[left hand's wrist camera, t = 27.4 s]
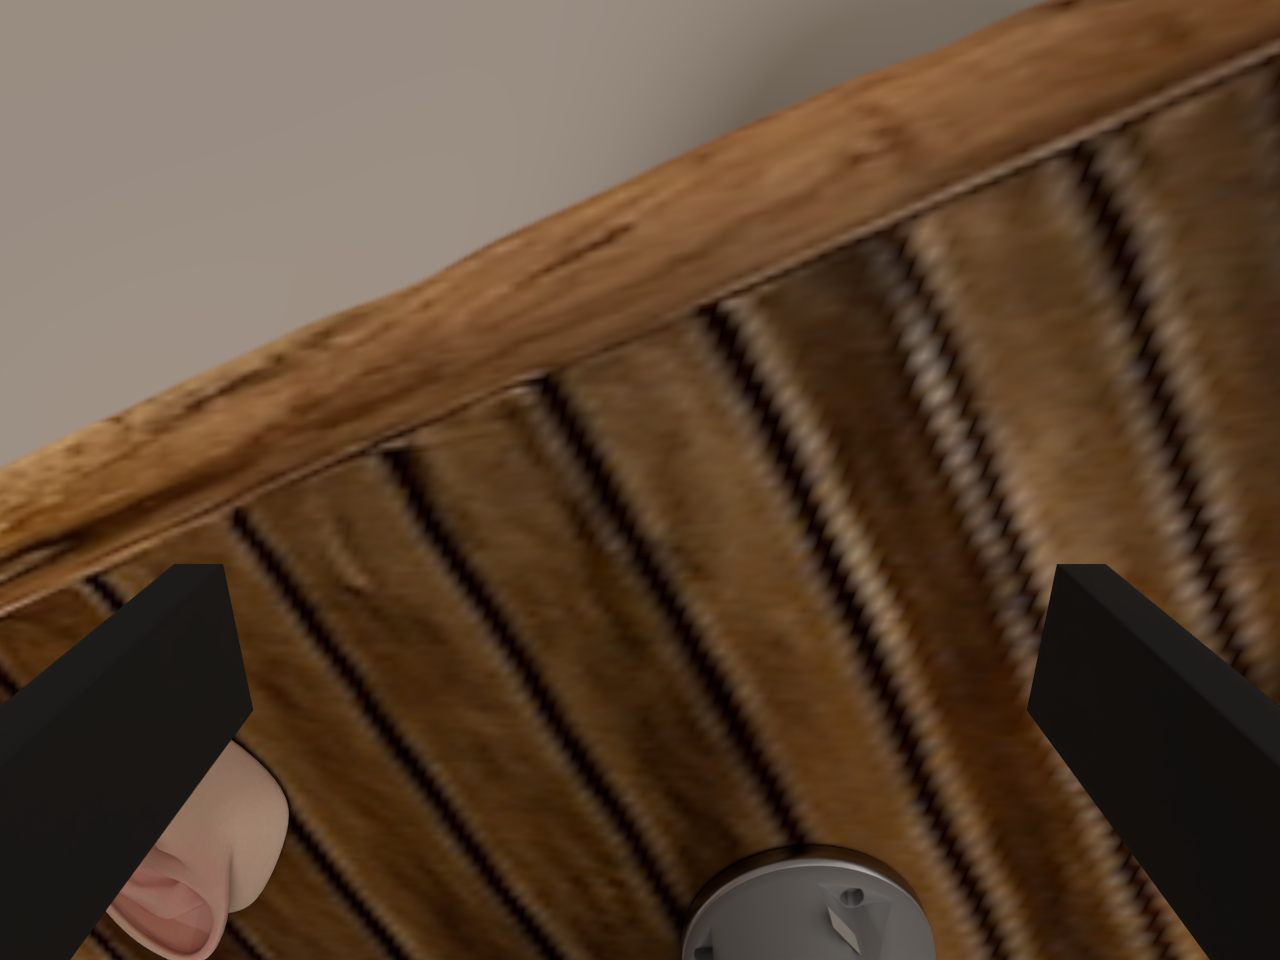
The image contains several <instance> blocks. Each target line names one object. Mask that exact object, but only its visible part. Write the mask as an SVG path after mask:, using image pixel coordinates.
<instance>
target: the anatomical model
mask: <svg viewBox="0 0 1280 960" xmlns="http://www.w3.org/2000/svg"><path fill="white" fill-rule="evenodd" d="M288 819H289V810H288V804H287V801H286V797H285V795H284V793H283V791H282V789H281V788H280V786H279V785H278V783H277V782H276V780H275V779H274V778H273V777H272V776H271V774H270V773H269V772H268V771H267V770H266V769H265V768H264V767H263V766H262V765H261V764H260V763H259V762H258V761H257V760H256V759H255V758H254V757H252V756H251V755H250V754H249V753H248V752H246V751H245V750H244V749H243V748H242V747H240V746H239V745H238V744H236V743H235V742H234V741H232V740H231V741H230V742H229V744H228V745H227V746H226V748H225V749H224V751H223V752H222V753H221V755H220V756H219V757H218V759H217V760H216V761H215V763H214V764H213V766H212V767H211V768H210V770H209V771H208V772H207V774H206V775H205V776H204V778H203V779H202V781H201V782H200V783H199V785H198V786H197V787H196V789H195V790H194V791H193V793H192V794H191V796H190V797H189V798H188V800H187V801H186V802H185V804H184V805H183V806H182V808H181V809H180V811H179V812H178V813H177V815H176V816H175V817H174V819H173V820H172V821H171V823H170V824H169V826H168V827H167V828H166V830H165V831H164V832H163V834H162V835H161V836H160V838H159V839H158V841H157V842H156V843H155V845H154V846H153V847H152V849H151V850H150V851H149V853H148V854H147V856H146V857H145V858H144V860H143V861H142V862H141V864H140V865H139V866H138V868H137V869H136V871H135V872H134V873H133V875H132V876H131V877H130V879H129V880H128V881H127V883H126V884H125V886H124V887H123V888H122V890H121V891H120V892H119V894H118V895H117V896H116V898H115V899H114V901H113V902H112V903H111V905H110V906H109V907H108V909H107V910H106V912H107V913H108V914H109V915H110V916H111V917H112V919H113V920H114V921H115V922H116V923H117V924H118V925H119V926H120V927H121V928H122V929H123V930H124V931H125V932H127V933H128V934H129V935H130V936H131V937H132V938H134V939H135V940H136V941H138V942H139V943H140V944H142V945H143V946H145V947H146V948H148V949H150V950H151V951H153V952H155V953H157V954H159V955H161V956H163V957H165V958H167V959H170V960H205V959H206V958H208V957H209V956H210V955H211V953H212V952H213V951H214V950H215V948H216V947H217V945H218V943H219V941H220V939H221V937H222V934H223V932H224V929H225V925H226V922H227V917H228V913H231V912H235V911H239V910H242V909H244V908H246V907H247V906H249V905H250V904H251V903H253V902H254V901H255V900H256V899H257V897H258V896H259V895H260V893H261V892H262V891H263V889H264V887H265V886H266V884H267V882H268V880H269V878H270V876H271V874H272V872H273V870H274V867H275V865H276V863H277V860H278V858H279V855H280V852H281V849H282V847H283V843H284V840H285V837H286V832H287V827H288Z"/></svg>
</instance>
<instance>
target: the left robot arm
mask: <svg viewBox="0 0 1280 960" xmlns="http://www.w3.org/2000/svg"><path fill="white" fill-rule="evenodd" d="M252 711H253V707H252V702H251V698H250V693H249V688H248V683H247V678H246V673H245V669H244V664H243V659H242V654H241V649H240V644H239V639H238V635H237V630H236V625H235V620H234V615H233V610H232V606H231V601H230V596H229V591H228V586H227V581H226V576H225V572H224V567H223V564H174V565H173V566H171V567H170V568H169V569H168V570H167V571H165V572H164V573H163V574H162V575H160V576H159V577H158V578H157V579H156V580H154V581H153V582H152V583H151V584H149V585H148V586H147V587H146V588H145V589H143V590H142V591H141V592H140V593H138V594H137V595H136V596H135V597H134V598H132V599H131V600H130V601H129V602H127V603H126V604H125V605H124V606H123V607H121V608H120V609H119V610H118V611H116V612H115V613H114V614H113V615H112V616H110V617H109V618H108V619H107V620H105V621H104V622H103V623H102V624H101V625H99V626H98V627H97V628H96V629H94V630H93V631H92V632H91V633H90V634H88V635H87V636H86V637H85V638H83V639H82V640H81V641H80V642H79V643H77V644H76V645H75V646H74V647H72V648H71V649H70V650H69V651H68V652H66V653H65V654H64V655H63V656H62V657H60V658H59V659H58V660H57V661H55V662H54V663H53V664H52V665H51V666H49V667H48V668H47V669H46V670H44V671H43V672H42V673H41V674H40V675H38V676H37V677H36V678H35V679H33V680H32V681H31V682H30V683H29V684H27V685H26V686H25V687H24V688H22V689H21V690H20V691H19V692H18V693H16V694H15V695H14V696H13V697H11V698H10V699H9V700H8V701H7V702H5V703H4V704H3V705H2V706H0V960H70V959H71V958H72V956H73V955H74V954H75V952H76V951H77V950H78V948H79V947H80V945H81V944H82V943H83V941H84V940H85V939H86V937H87V936H88V935H89V933H90V932H91V930H92V929H93V928H94V926H95V925H96V924H97V922H98V921H99V920H100V918H101V917H102V916H103V914H104V913H105V911H106V910H107V909H108V907H109V906H110V905H111V903H112V902H113V901H114V899H115V898H116V896H117V895H118V894H119V892H120V891H121V890H122V888H123V887H124V886H125V884H126V883H127V881H128V880H129V879H130V877H131V876H132V875H133V873H134V872H135V871H136V869H137V868H138V866H139V865H140V864H141V862H142V861H143V860H144V858H145V857H146V856H147V854H148V853H149V851H150V850H151V849H152V847H153V846H154V845H155V843H156V842H157V841H158V839H159V838H160V836H161V835H162V834H163V832H164V831H165V830H166V828H167V827H168V826H169V824H170V823H171V821H172V820H173V819H174V817H175V816H176V815H177V813H178V812H179V811H180V809H181V808H182V806H183V805H184V804H185V802H186V801H187V800H188V798H189V797H190V796H191V794H192V793H193V791H194V790H195V789H196V787H197V786H198V785H199V783H200V782H201V781H202V779H203V778H204V776H205V775H206V774H207V772H208V771H209V770H210V768H211V767H212V766H213V764H214V763H215V761H216V760H217V759H218V757H219V756H220V755H221V753H222V752H223V751H224V749H225V748H226V746H227V745H228V744H229V742H230V741H231V740H232V738H233V737H234V736H235V734H236V733H237V732H238V730H239V729H240V727H241V726H242V725H243V723H244V722H245V721H246V719H247V718H248V717H249V715H250V714H251V712H252ZM1027 711H1028V712H1029V714H1030V715H1031V717H1032V718H1033V719H1034V721H1035V722H1036V723H1037V725H1038V726H1039V727H1040V729H1041V730H1042V732H1043V733H1044V734H1045V736H1046V737H1047V738H1048V740H1049V741H1050V742H1051V744H1052V745H1053V746H1054V748H1055V749H1056V751H1057V752H1058V753H1059V755H1060V756H1061V757H1062V759H1063V760H1064V761H1065V763H1066V764H1067V766H1068V767H1069V768H1070V770H1071V771H1072V772H1073V774H1074V775H1075V776H1076V778H1077V779H1078V781H1079V782H1080V783H1081V785H1082V786H1083V787H1084V789H1085V790H1086V791H1087V793H1088V794H1089V796H1090V797H1091V798H1092V800H1093V801H1094V802H1095V804H1096V805H1097V806H1098V808H1099V809H1100V811H1101V812H1102V813H1103V815H1104V816H1105V817H1106V819H1107V820H1108V821H1109V823H1110V824H1111V826H1112V827H1113V828H1114V830H1115V831H1116V832H1117V834H1118V835H1119V836H1120V838H1121V839H1122V841H1123V842H1124V843H1125V845H1126V846H1127V847H1128V849H1129V850H1130V851H1131V853H1132V854H1133V856H1134V857H1135V858H1136V860H1137V861H1138V862H1139V864H1140V865H1141V866H1142V868H1143V869H1144V871H1145V872H1146V873H1147V875H1148V876H1149V877H1150V879H1151V880H1152V881H1153V883H1154V884H1155V886H1156V887H1157V888H1158V890H1159V891H1160V892H1161V894H1162V895H1163V896H1164V898H1165V899H1166V901H1167V902H1168V903H1169V905H1170V906H1171V907H1172V909H1173V910H1174V911H1175V913H1176V914H1177V916H1178V917H1179V918H1180V920H1181V921H1182V922H1183V924H1184V925H1185V926H1186V928H1187V929H1188V930H1189V932H1190V933H1191V935H1192V936H1193V937H1194V939H1195V940H1196V941H1197V943H1198V944H1199V945H1200V947H1201V948H1202V950H1203V951H1204V952H1205V954H1206V955H1207V956H1208V958H1209V959H1210V960H1280V706H1278V705H1277V704H1276V703H1275V702H1273V701H1272V700H1271V699H1270V698H1269V697H1267V696H1266V695H1265V694H1264V693H1262V692H1261V691H1260V690H1259V689H1258V688H1256V687H1255V686H1254V685H1253V684H1251V683H1250V682H1249V681H1248V680H1247V679H1245V678H1244V677H1243V676H1242V675H1240V674H1239V673H1238V672H1237V671H1236V670H1234V669H1233V668H1232V667H1231V666H1229V665H1228V664H1227V663H1226V662H1225V661H1223V660H1222V659H1221V658H1220V657H1218V656H1217V655H1216V654H1215V653H1214V652H1212V651H1211V650H1210V649H1209V648H1208V647H1206V646H1205V645H1204V644H1203V643H1201V642H1200V641H1199V640H1198V639H1197V638H1195V637H1194V636H1193V635H1192V634H1190V633H1189V632H1188V631H1187V630H1186V629H1184V628H1183V627H1182V626H1181V625H1179V624H1178V623H1177V622H1176V621H1175V620H1173V619H1172V618H1171V617H1170V616H1168V615H1167V614H1166V613H1165V612H1164V611H1162V610H1161V609H1160V608H1159V607H1157V606H1156V605H1155V604H1154V603H1153V602H1151V601H1150V600H1149V599H1148V598H1146V597H1145V596H1144V595H1143V594H1142V593H1140V592H1139V591H1138V590H1137V589H1135V588H1134V587H1133V586H1132V585H1131V584H1129V583H1128V582H1127V581H1126V580H1124V579H1123V578H1122V577H1121V576H1120V575H1118V574H1117V573H1116V572H1115V571H1113V570H1112V569H1111V568H1110V567H1109V566H1107V565H1106V564H1057V567H1056V572H1055V576H1054V581H1053V586H1052V591H1051V596H1050V601H1049V606H1048V610H1047V615H1046V620H1045V625H1044V630H1043V635H1042V639H1041V644H1040V649H1039V654H1038V659H1037V664H1036V669H1035V673H1034V678H1033V683H1032V688H1031V693H1030V698H1029V702H1028V707H1027ZM681 948H682V960H936V953H935V946H934V941H933V936H932V931H931V928H930V925H929V922H928V920H927V917H926V915H925V912H924V910H923V907H922V904H921V902H920V900H919V898H918V896H917V895H916V893H915V891H914V890H913V888H912V887H911V886H910V885H909V884H908V882H907V881H906V880H905V879H904V878H903V877H902V876H901V875H900V874H898V873H897V872H896V871H894V870H893V869H892V868H890V867H889V866H887V865H886V864H884V863H882V862H881V861H878V860H876V859H874V858H872V857H870V856H867V855H865V854H862V853H859V852H855V851H852V850H848V849H843V848H838V847H829V846H795V847H787V848H782V849H777V850H772V851H768V852H765V853H761V854H759V855H756V856H753V857H750V858H748V859H746V860H744V861H741V862H739V863H737V864H736V865H734V866H732V867H730V868H729V869H727V870H726V871H724V872H723V873H721V874H720V875H718V876H717V877H716V878H715V879H714V880H712V881H711V882H710V883H709V884H708V885H707V886H706V887H705V888H704V889H703V890H702V891H701V893H700V894H699V895H698V896H697V897H696V899H695V900H694V902H693V904H692V905H691V907H690V909H689V911H688V913H687V915H686V918H685V921H684V924H683V929H682V936H681Z"/></svg>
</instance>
